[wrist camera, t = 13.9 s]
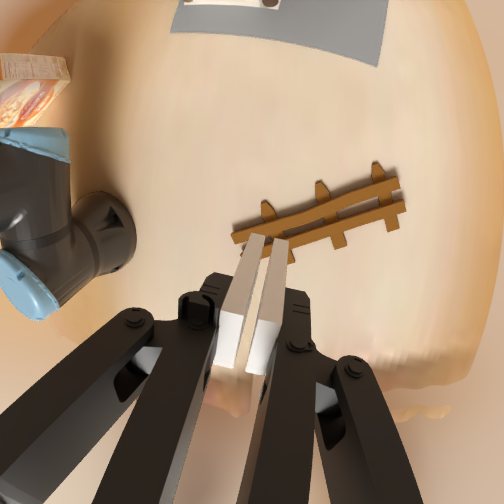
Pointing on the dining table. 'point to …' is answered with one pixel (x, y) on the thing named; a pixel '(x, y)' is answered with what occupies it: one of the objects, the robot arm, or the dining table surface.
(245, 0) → the fixed panel
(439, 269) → the dining table surface
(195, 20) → the card
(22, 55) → the coffeecake box
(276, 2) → the hinge post
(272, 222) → the decorative fence
